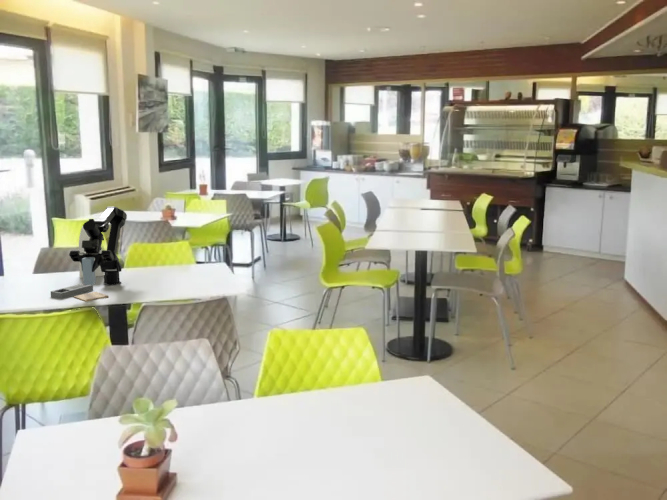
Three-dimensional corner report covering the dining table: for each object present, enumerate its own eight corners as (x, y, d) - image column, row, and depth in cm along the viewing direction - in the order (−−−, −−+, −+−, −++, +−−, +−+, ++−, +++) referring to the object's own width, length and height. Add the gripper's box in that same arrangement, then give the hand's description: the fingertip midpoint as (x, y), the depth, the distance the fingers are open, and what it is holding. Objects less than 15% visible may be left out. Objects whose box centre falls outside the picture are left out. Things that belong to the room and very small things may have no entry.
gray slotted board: (83, 289, 308) (82, 282, 307) (93, 290, 305) (92, 283, 304) (51, 297, 292) (50, 290, 292) (61, 299, 289) (60, 292, 288)
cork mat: (95, 293, 299) (95, 291, 299) (108, 297, 292) (108, 295, 292) (73, 298, 291) (73, 296, 291) (85, 302, 284) (85, 300, 284)
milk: (103, 271, 347) (100, 223, 342) (104, 275, 336) (100, 227, 331) (80, 273, 343) (76, 225, 338) (79, 277, 332) (75, 228, 327)
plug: (87, 282, 293) (85, 257, 290) (95, 282, 293) (93, 257, 290) (83, 284, 289) (81, 259, 286) (92, 284, 289) (90, 258, 286)
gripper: (69, 233, 290) (60, 261, 282) (109, 233, 290) (102, 261, 281) (77, 246, 299) (69, 275, 291) (117, 246, 299) (110, 275, 291)
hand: (87, 271), depth 288 cm, fingers closed on plug, 4 cm apart
